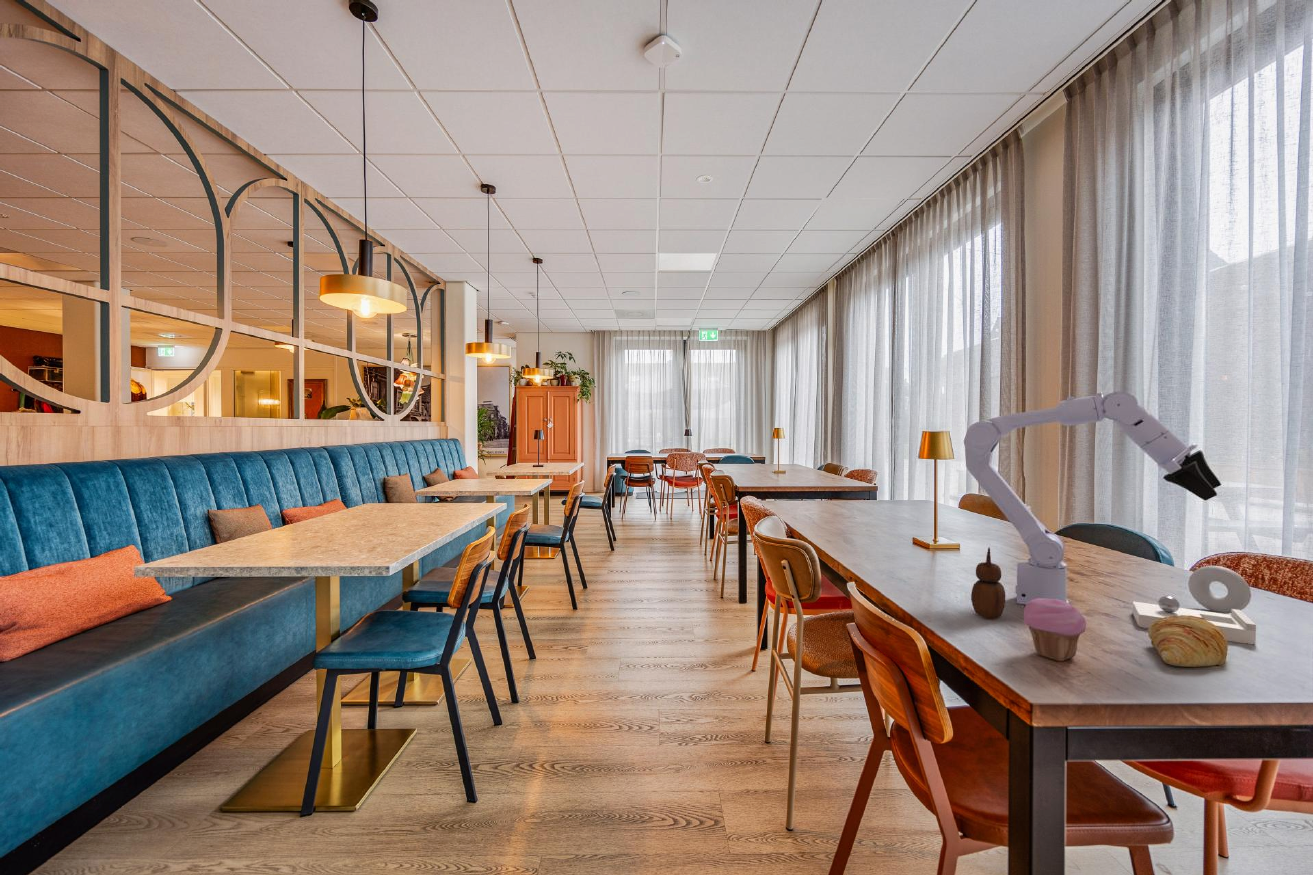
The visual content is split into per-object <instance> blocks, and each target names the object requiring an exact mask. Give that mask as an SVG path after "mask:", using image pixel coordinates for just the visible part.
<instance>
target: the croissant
mask: <svg viewBox="0 0 1313 875" xmlns="http://www.w3.org/2000/svg"><path fill="white" fill-rule="evenodd" d="M1147 632H1148V637H1149V639H1150V642H1151V646H1152V647H1154V648H1155V649H1156V651H1157V653H1158V654H1159V656H1160V657H1161V659H1162V661H1164V662H1165V663H1166V664H1167V665H1170V666H1176V667H1189V668H1193V667H1196V668H1198V667H1212V666H1216V665H1218V666H1222V665H1224V664H1225V663H1226V660H1227V656H1228V651H1229V650H1228V648H1229V641H1227V639H1226V637H1225V635H1224V633H1223V632H1222V630H1220V629H1219V628H1218V627H1217V626H1215V625H1214V624H1213V623H1210V622H1208V621H1206V620H1205V619H1204V618H1201V617H1195V616H1186V615H1180V616H1170V617H1164V618H1162V619H1160V620H1157V621H1156V622H1154V623H1153V624H1151V625H1150V626H1149V628H1147Z"/></svg>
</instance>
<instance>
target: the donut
mask: <svg viewBox="0 0 1313 875" xmlns="http://www.w3.org/2000/svg"><path fill="white" fill-rule="evenodd" d="M1215 582H1219V583H1221V584H1222V585H1224V586H1225V587H1226V589H1227V594H1226V595H1225V596H1223V597H1221V596H1217V595H1215V594H1214V593H1213V592H1212V590H1211V588H1210V587H1211V584H1212V583H1215ZM1187 583H1188V584H1187V585H1188V590H1189V592H1190V594H1191V596H1192V598H1193V599H1194V600H1195V601H1196V602H1197V603H1198V604H1199V605H1201V606H1202V607H1204V608H1206V609H1207V610H1209V611H1210V612H1214V613H1222V614H1229V615H1230V614H1231V609H1237V610H1241V611H1242V610H1244V609H1246V608H1247V607H1248V605H1249V604H1250V602H1251V598H1252V593H1251V588H1250V586H1249V584H1248V583H1247V580H1246V579H1244V578H1243V577H1242V576H1241V575H1240V574H1239V573H1238V572H1236V571H1234V570H1232V569H1231V568H1227V567H1224V566H1221V565H1206V566H1201V567H1199V568H1197V569H1196V570H1194V571H1193V572H1192V573H1191V574H1190V576H1189V578H1188V582H1187Z"/></svg>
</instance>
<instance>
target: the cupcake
mask: <svg viewBox="0 0 1313 875" xmlns="http://www.w3.org/2000/svg"><path fill="white" fill-rule="evenodd" d="M1082 614H1083V613H1082V612H1081V611H1080V610H1079V609H1077V607H1075V606H1074V605H1072V604H1071V603H1067V602H1065V601H1062V600H1058V599H1044V598H1038V599H1033V600H1031V601H1029V602H1028V603H1027V605H1025V607H1024V608H1023V620H1024V622H1025V625H1027V626H1028V629H1029V632H1030V634H1031V637H1032V641H1033V646H1034V650H1035V651H1036V653H1037V654H1038V655H1040V656H1043V657H1046V658H1048V659H1050V660H1055V661H1056V662H1064V661H1066V660H1070V659H1072V658H1074V657H1075V656H1076V655H1077V650H1078V642H1079V638H1080V635H1082V634H1083V633H1085V632H1086V629H1087V622H1086V618H1085V617H1084V616H1083V615H1082Z"/></svg>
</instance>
